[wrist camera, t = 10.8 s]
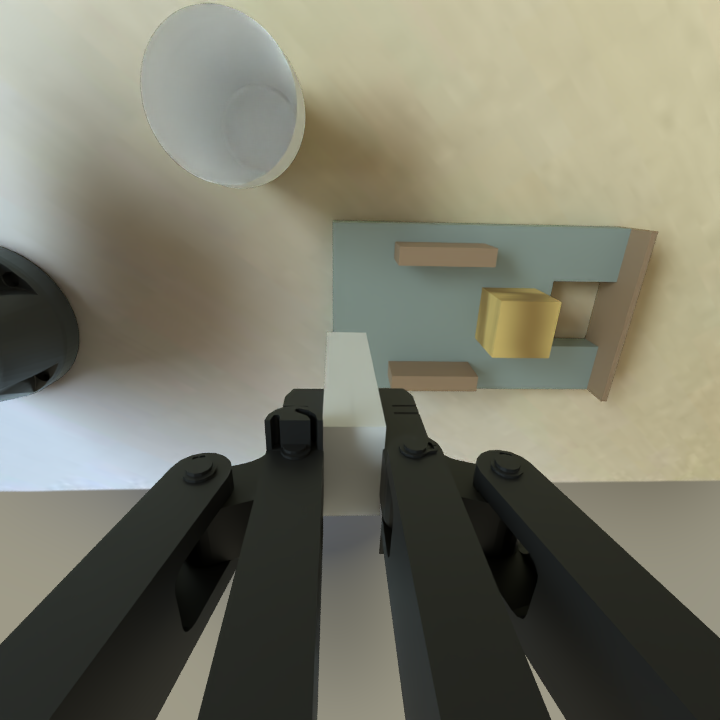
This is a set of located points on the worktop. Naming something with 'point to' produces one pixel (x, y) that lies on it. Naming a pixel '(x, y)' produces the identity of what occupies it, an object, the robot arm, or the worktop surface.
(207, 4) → the cup
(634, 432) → the worktop surface
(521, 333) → the ochre block
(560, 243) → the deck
